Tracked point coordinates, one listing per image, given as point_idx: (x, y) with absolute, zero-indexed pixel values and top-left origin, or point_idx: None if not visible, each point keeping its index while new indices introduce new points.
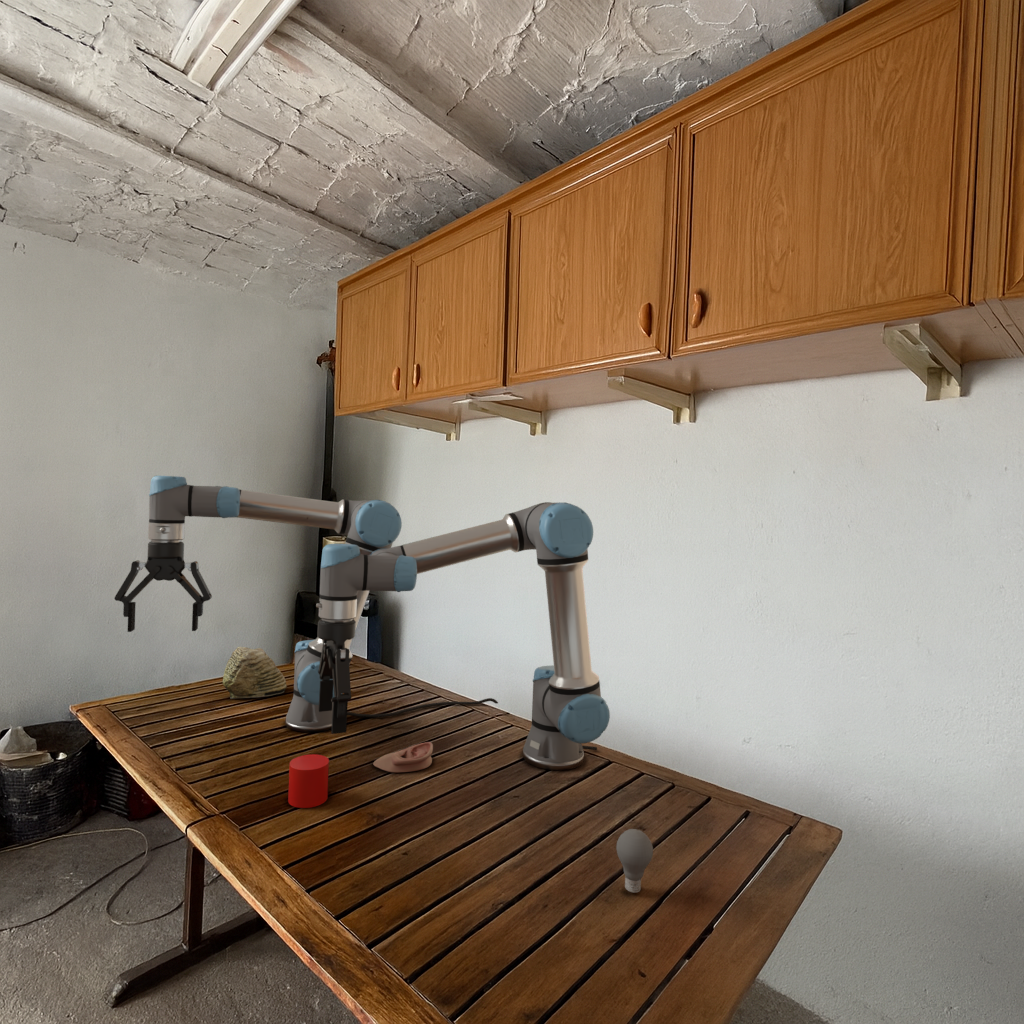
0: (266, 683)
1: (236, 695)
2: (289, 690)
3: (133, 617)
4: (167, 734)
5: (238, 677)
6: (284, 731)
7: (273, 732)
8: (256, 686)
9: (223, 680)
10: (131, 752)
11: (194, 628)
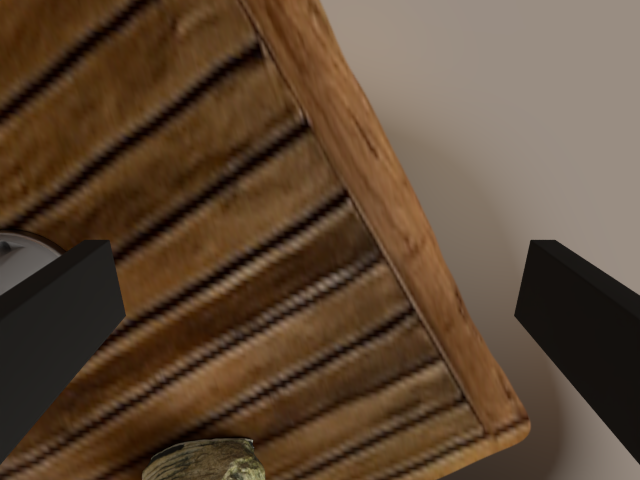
0: (171, 468)
1: (238, 443)
2: None
3: (581, 340)
4: (331, 265)
5: (221, 472)
6: None
7: None
8: (192, 459)
9: (262, 478)
10: (382, 172)
11: (79, 247)
